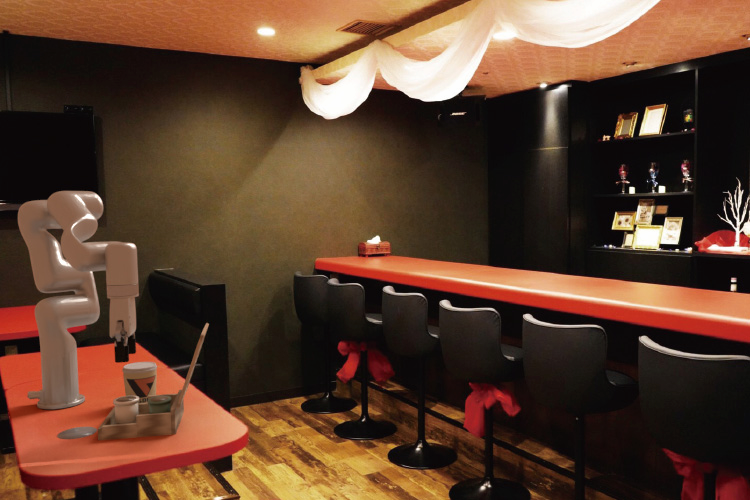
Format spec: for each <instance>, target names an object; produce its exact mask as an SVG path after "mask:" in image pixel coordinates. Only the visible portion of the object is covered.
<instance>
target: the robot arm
mask: <svg viewBox="0 0 750 500" xmlns="http://www.w3.org/2000/svg"><path fill="white" fill-rule="evenodd" d="M103 213H104V204H103V200H102V198H101V197H100V196H99V194H97V193H96V192H94V191H88V190H86V191H85V190H61V191H60V190H59V191H56V192H53V193H52V194H51V195H50V196H49V197H48V198H47V199H40V200H39V199H37V200H31V201H29V200H28V201H26V202H24V203H23V204H22V205H20V206H19V208H18V212H17V224H18V228H19V232H20V234H21V236H22V238H23V240H24V242H25V245H26V246H27V249H28V253H29V259H30V264H31V270H32V274H33V280H34V285H35V286H36V289H37V290H38V292H40V293H42V294H43V293H44V294H54V293H63V292H74V294H70V295H67V294H66V295H58V296H51V297H47V298H43V299H42V300H39V302H37V303H36V306H35V307H34V317H35V322H36V325H37V330H38V337H39V346H40V348H39V349H40V350H39V351H40V364H41V365H40V366H41V384H42V386H41V387H42V389H39V390H37V391H35V390H33V391H31V390H29V391H28V392H27V399H29V400H36V399H37V400H38V401H37V402H36V406H37V408H38V409H42V410H58V409H59V410H60V409H61V410H62V409H66V408H70V407H74V406H78V405H80V404H82V403H84V401H86V396H85V395H84V394H81V393H80V391H79V390H80V389H79V388H80V387H79V369H78V367H79V366H78V365H79V364H78V347H77V341H76V339H75V337H74V336H73V335H72V334H71V333H70V332H69V331H68V329H70V328H74V327H80V326H86V325H87V326H88V325H92V324H94V323H96V322H97V321H98V319H99V318H100V314H101V313H100V310H101V308H100V303H99V295H98V291H97V287H96V286H97V285H96V281H95V276H94V273H93V272H100V271H102V272H103V271H104V272H105V277H106V278H105V281H106V282H105V283H106V298H107V299H110V300H109V337H110V338H111V339H114V343H113V344H114V347H113V348H114V362H115V363H129V362H130V355H135V354H136V353H137V344H136V342H137V340H136V333H135V332H136V330H137V310H136V298H137V297H140V296H139V295H140V293H139V270H138V269H139V268H138V248H137V246H136V244H135V243H133V242H122V241H117V240H116V241H115V240H114V241H113V240H111V241H92V242H91V241H90V242H84V241H87V240H89V239H91V237H93V236H94V235H95V233H96V231H98V226H99V224H98V220H99V219H100V218H101V217H102V215H103ZM51 229H52V230H53V229H56V230H57V229H58V230H61V229H62V231H63V232H62V234H61V239H60V242H59V241H58V240H57V239H56V237H55V236H54V235H52V234H51V233H50V232H48V230H51Z"/></svg>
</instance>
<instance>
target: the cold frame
mask: <svg viewBox="0 0 750 500" xmlns="http://www.w3.org/2000/svg"><path fill="white" fill-rule="evenodd" d="M181 392H182V389H179V390H178V392H177V393H166V394H165V393H164V394H163V393H162V394H156V395H149V396H148V399H150V398H152V397H157V396H170V397H171V401H170V409H171V412H169V413H155V414H150V413H149V404H148V403H138V412H139V415H137V416H136V419H137V423H129V424H116V425H115V406H113V408H112V409H111V410H110V412H109V413H108V414H107V416H105V418H104V420H103V421H102V423H101V424H100V425H99V427H98V428H97V440H98V441H107V440H117V439H118V440H120V439H121V440H122V439H132V438H134V439H135V438H144V437H145V438H146V437H147V438H148V437H156V436H157V437H158V436H168V435H169V436H170V435H176V434H177V432H178V429H179V426H180V423H181V422H182V419H183V416H184V412H185V405H184V404H185V403H184V399H183V401H182V403H181V406H180V408H179V409H176V407H177V404H178V401H179V398H180V395H181Z"/></svg>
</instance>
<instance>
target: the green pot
mask: <svg viewBox="0 0 750 500" xmlns="http://www.w3.org/2000/svg"><path fill="white" fill-rule="evenodd" d="M170 401H171V397H170V396H157V397H152V398H150V399H148V404H149V413H150V414H155V413H169V412H171V409H170Z"/></svg>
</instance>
